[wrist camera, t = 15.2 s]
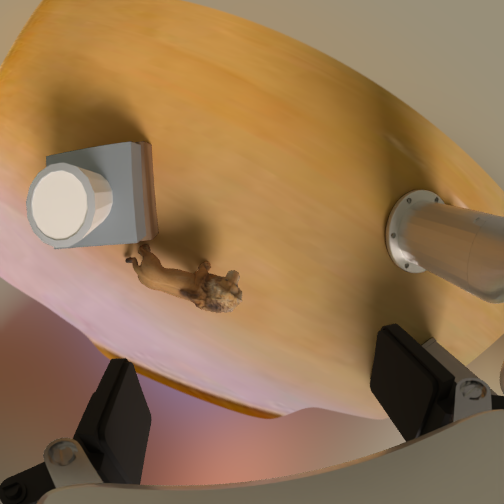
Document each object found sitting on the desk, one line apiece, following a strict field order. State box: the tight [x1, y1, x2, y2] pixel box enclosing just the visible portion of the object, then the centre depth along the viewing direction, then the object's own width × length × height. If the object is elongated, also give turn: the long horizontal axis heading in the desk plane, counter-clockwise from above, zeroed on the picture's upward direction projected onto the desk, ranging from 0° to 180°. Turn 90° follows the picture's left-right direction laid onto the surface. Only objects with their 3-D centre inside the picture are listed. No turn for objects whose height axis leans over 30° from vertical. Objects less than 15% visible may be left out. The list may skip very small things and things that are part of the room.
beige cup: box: [26, 162, 113, 248], centre depth 23 cm, size 7×7×7 cm
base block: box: [75, 141, 159, 248], centre depth 33 cm, size 11×11×4 cm
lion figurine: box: [126, 244, 242, 313], centre depth 34 cm, size 15×5×9 cm, turn 80°
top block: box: [46, 142, 146, 249], centre depth 29 cm, size 10×10×4 cm
